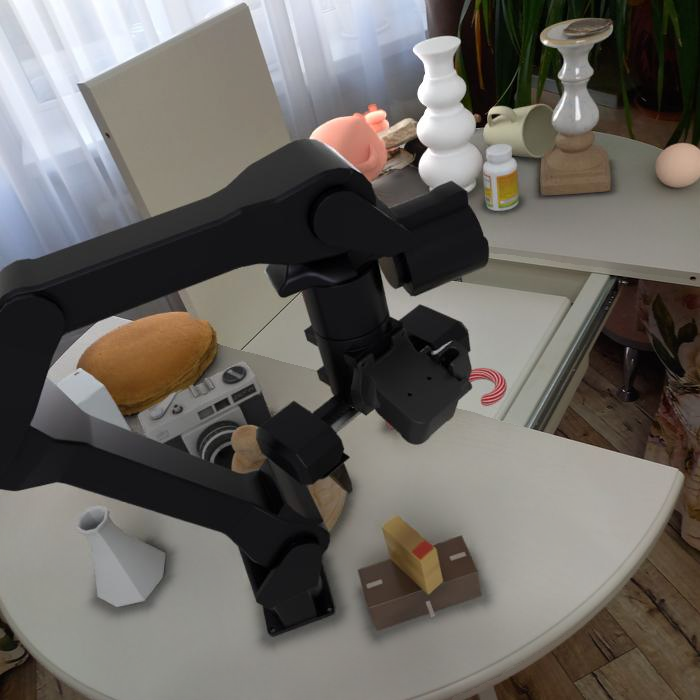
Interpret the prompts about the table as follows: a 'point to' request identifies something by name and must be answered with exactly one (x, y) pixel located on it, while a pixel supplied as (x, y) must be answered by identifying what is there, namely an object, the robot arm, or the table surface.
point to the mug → (522, 129)
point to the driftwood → (396, 161)
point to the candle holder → (574, 120)
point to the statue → (322, 491)
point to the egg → (679, 165)
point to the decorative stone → (399, 133)
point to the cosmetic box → (92, 397)
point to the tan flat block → (412, 554)
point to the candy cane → (491, 376)
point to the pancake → (150, 358)
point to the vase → (445, 118)
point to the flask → (119, 559)
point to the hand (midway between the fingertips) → (385, 456)
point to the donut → (415, 150)
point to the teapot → (354, 143)
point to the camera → (208, 415)
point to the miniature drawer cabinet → (409, 598)
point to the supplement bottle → (500, 178)
